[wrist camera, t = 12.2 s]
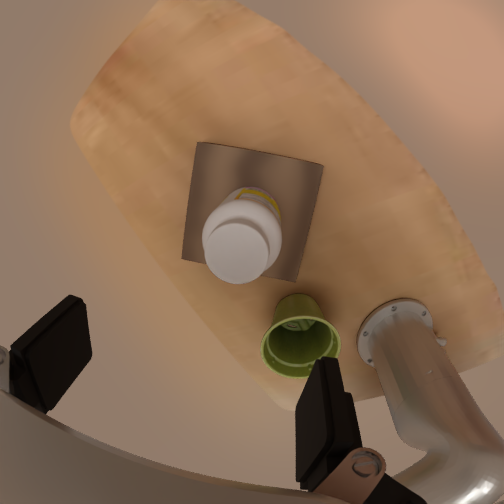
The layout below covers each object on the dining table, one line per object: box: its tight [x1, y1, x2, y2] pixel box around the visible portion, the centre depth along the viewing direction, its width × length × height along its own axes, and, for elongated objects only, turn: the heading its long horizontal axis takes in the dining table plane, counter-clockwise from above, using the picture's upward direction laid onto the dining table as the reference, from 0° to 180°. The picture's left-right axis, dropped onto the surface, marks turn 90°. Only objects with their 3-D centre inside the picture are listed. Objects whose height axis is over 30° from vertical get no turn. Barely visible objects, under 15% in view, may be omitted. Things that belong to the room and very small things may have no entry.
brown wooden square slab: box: [182, 142, 324, 282], centre depth 35 cm, size 14×14×4 cm
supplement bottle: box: [202, 187, 282, 284], centre depth 28 cm, size 7×7×13 cm
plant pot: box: [260, 294, 341, 379], centre depth 37 cm, size 9×9×9 cm
